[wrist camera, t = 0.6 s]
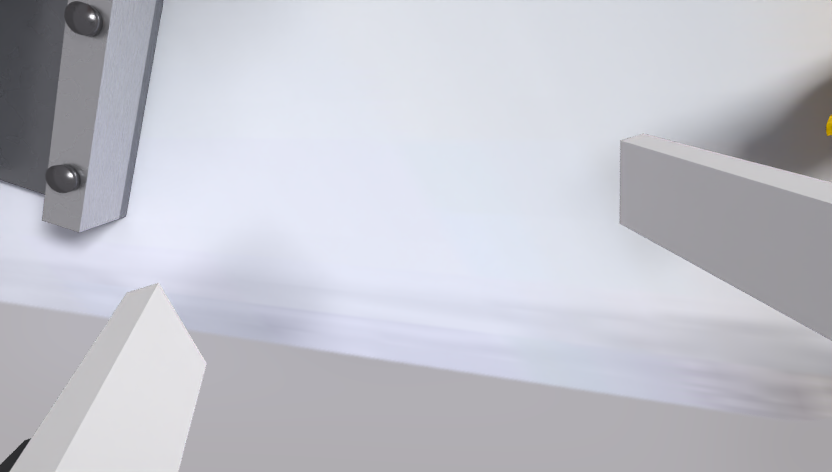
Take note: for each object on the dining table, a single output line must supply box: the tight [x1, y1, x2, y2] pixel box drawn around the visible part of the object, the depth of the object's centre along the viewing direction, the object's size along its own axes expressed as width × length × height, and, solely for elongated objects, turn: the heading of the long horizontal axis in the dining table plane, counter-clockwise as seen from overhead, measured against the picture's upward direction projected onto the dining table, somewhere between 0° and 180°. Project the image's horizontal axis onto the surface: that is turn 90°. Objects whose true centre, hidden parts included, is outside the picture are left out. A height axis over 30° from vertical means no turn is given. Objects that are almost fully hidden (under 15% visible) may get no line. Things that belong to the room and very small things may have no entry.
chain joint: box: [0, 0, 163, 232], centre depth 28 cm, size 17×13×5 cm
